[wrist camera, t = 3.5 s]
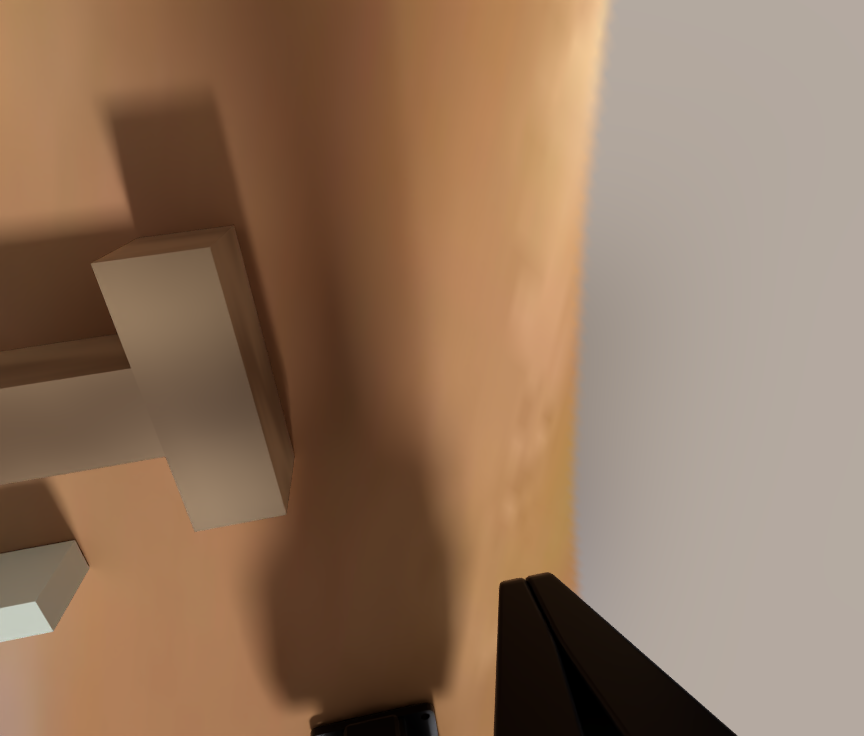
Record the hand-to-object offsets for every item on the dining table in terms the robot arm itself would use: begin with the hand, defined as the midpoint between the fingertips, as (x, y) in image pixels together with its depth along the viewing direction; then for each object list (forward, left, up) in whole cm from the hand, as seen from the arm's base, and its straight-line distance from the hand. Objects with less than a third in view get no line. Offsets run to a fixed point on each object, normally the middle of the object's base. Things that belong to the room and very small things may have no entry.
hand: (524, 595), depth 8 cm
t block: (0, +10, -12) cm, 16 cm away
